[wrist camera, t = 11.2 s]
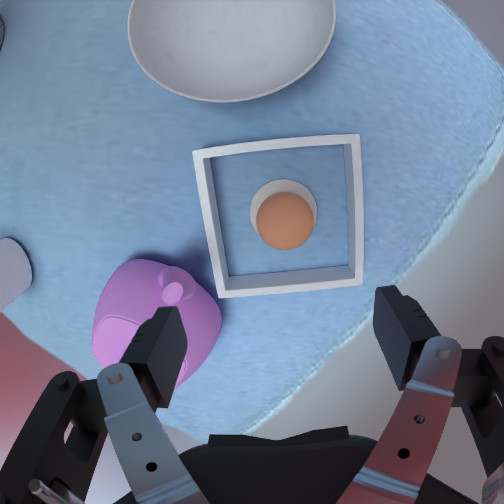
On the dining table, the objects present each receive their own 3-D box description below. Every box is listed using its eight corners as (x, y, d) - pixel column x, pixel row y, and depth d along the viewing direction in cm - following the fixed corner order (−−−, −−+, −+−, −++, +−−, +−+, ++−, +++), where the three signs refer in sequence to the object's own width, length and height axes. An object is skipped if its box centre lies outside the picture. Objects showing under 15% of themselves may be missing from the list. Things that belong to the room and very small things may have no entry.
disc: (245, 182, 28) (245, 183, 28) (314, 176, 27) (314, 176, 27) (254, 246, 30) (254, 247, 30) (318, 240, 30) (319, 241, 29)
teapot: (263, 265, 31) (259, 332, 21) (183, 377, 38) (162, 442, 28) (149, 198, 29) (93, 235, 19) (97, 328, 36) (57, 383, 26)
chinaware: (348, 23, 21) (372, -8, 14) (262, 141, 27) (259, 143, 19) (217, -43, 19) (203, -82, 12) (132, 68, 24) (92, 54, 17)
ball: (254, 190, 28) (250, 202, 23) (307, 184, 27) (315, 195, 23) (260, 240, 30) (258, 261, 25) (311, 235, 29) (319, 256, 25)
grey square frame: (199, 148, 27) (192, 150, 24) (350, 133, 26) (359, 134, 23) (222, 283, 32) (218, 298, 29) (355, 271, 31) (362, 284, 28)
